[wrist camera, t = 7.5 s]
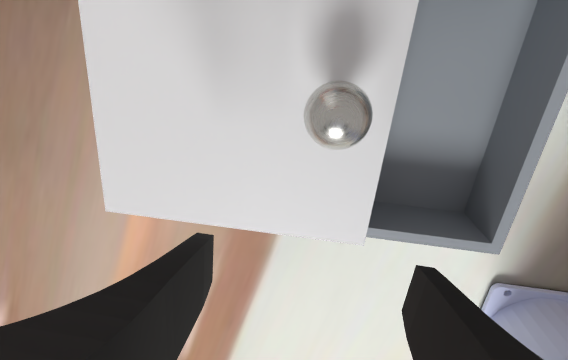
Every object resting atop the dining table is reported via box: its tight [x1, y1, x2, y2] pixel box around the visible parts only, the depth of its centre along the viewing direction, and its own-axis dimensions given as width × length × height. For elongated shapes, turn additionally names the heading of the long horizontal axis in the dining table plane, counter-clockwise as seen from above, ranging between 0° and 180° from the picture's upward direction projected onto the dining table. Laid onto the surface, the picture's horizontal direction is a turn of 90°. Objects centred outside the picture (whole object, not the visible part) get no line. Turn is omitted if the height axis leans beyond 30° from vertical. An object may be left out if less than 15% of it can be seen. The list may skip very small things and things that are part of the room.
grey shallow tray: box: [366, 0, 568, 254], centre depth 17 cm, size 14×14×4 cm
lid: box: [78, 0, 419, 246], centre depth 14 cm, size 14×14×4 cm
